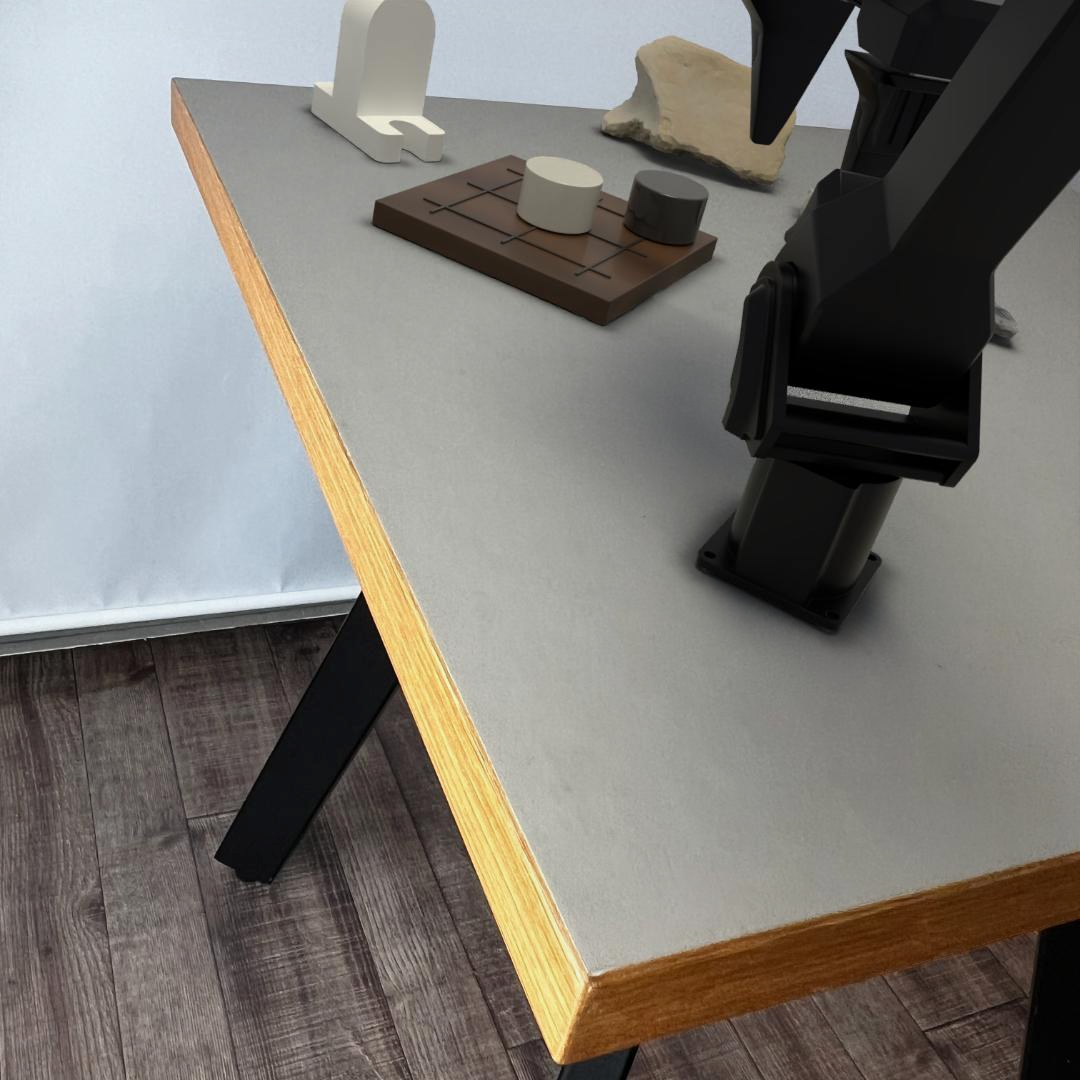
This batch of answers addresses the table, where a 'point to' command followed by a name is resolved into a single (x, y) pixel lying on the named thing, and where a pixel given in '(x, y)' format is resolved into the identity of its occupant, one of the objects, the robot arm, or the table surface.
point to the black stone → (665, 207)
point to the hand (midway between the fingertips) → (798, 178)
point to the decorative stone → (697, 110)
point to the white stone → (559, 195)
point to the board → (538, 242)
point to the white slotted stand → (382, 80)
